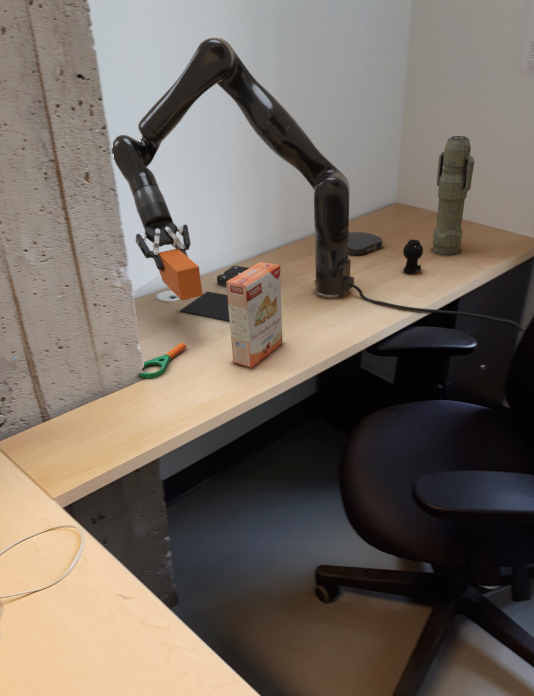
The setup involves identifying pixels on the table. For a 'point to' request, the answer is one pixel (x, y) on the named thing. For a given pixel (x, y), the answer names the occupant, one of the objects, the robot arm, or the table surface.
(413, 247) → the gumball machine
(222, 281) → the disk drive
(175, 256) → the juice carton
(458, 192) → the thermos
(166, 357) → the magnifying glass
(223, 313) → the desk mat
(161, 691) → the table surface
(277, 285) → the cracker box
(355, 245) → the media streaming box
